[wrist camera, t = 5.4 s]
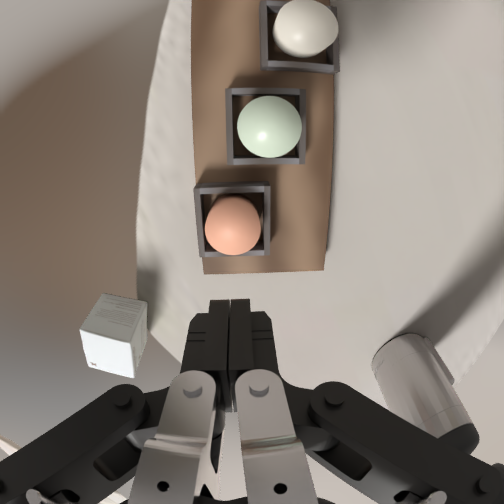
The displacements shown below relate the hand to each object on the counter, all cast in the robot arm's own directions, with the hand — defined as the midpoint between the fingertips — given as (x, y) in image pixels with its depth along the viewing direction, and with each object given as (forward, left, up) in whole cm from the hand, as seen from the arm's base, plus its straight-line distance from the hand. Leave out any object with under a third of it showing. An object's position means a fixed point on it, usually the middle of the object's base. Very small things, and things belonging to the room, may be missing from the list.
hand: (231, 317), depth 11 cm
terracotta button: (0, +1, -16) cm, 16 cm away
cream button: (-5, -15, -14) cm, 21 cm away
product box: (+14, +14, -18) cm, 27 cm away
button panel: (-3, -7, -18) cm, 19 cm away
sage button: (-3, -7, -14) cm, 16 cm away
